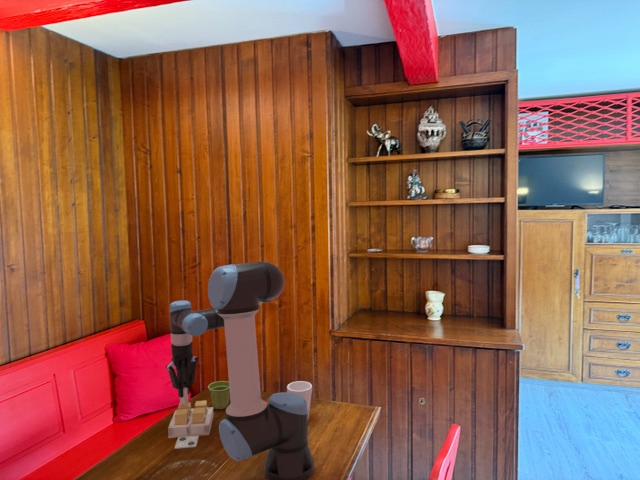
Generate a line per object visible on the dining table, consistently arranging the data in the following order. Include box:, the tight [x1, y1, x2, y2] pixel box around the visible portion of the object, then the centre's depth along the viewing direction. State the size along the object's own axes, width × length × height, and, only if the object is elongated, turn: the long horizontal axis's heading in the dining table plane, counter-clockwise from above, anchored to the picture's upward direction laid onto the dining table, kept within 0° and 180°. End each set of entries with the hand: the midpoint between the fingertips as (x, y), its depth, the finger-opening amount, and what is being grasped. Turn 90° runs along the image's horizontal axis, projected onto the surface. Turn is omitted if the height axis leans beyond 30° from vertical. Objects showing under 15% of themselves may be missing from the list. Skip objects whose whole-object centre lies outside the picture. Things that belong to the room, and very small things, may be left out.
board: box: [167, 406, 214, 439], centre depth 160 cm, size 14×14×4 cm
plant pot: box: [207, 380, 230, 410], centre depth 176 cm, size 9×9×9 cm
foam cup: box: [286, 380, 313, 420], centre depth 164 cm, size 10×9×13 cm
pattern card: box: [174, 435, 200, 450], centre depth 150 cm, size 7×7×1 cm
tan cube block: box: [177, 401, 192, 416], centre depth 163 cm, size 4×4×4 cm
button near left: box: [174, 409, 188, 425], centre depth 157 cm, size 4×4×4 cm
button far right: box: [194, 400, 208, 415], centre depth 163 cm, size 4×4×4 cm
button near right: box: [192, 407, 205, 424], centre depth 157 cm, size 4×4×4 cm
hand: (184, 404), depth 162 cm, fingers closed
